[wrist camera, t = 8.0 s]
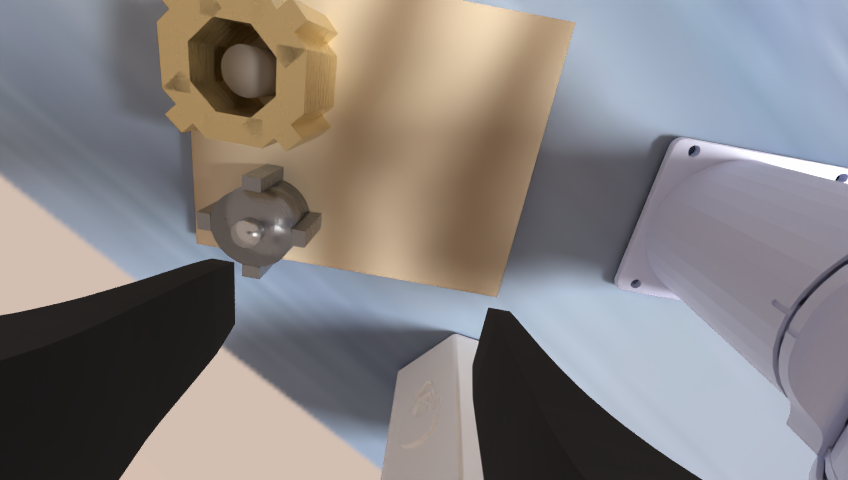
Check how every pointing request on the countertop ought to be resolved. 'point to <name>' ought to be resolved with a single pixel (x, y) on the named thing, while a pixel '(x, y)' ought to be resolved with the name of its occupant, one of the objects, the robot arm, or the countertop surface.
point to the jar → (435, 417)
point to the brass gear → (242, 24)
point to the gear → (260, 220)
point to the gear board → (408, 138)
